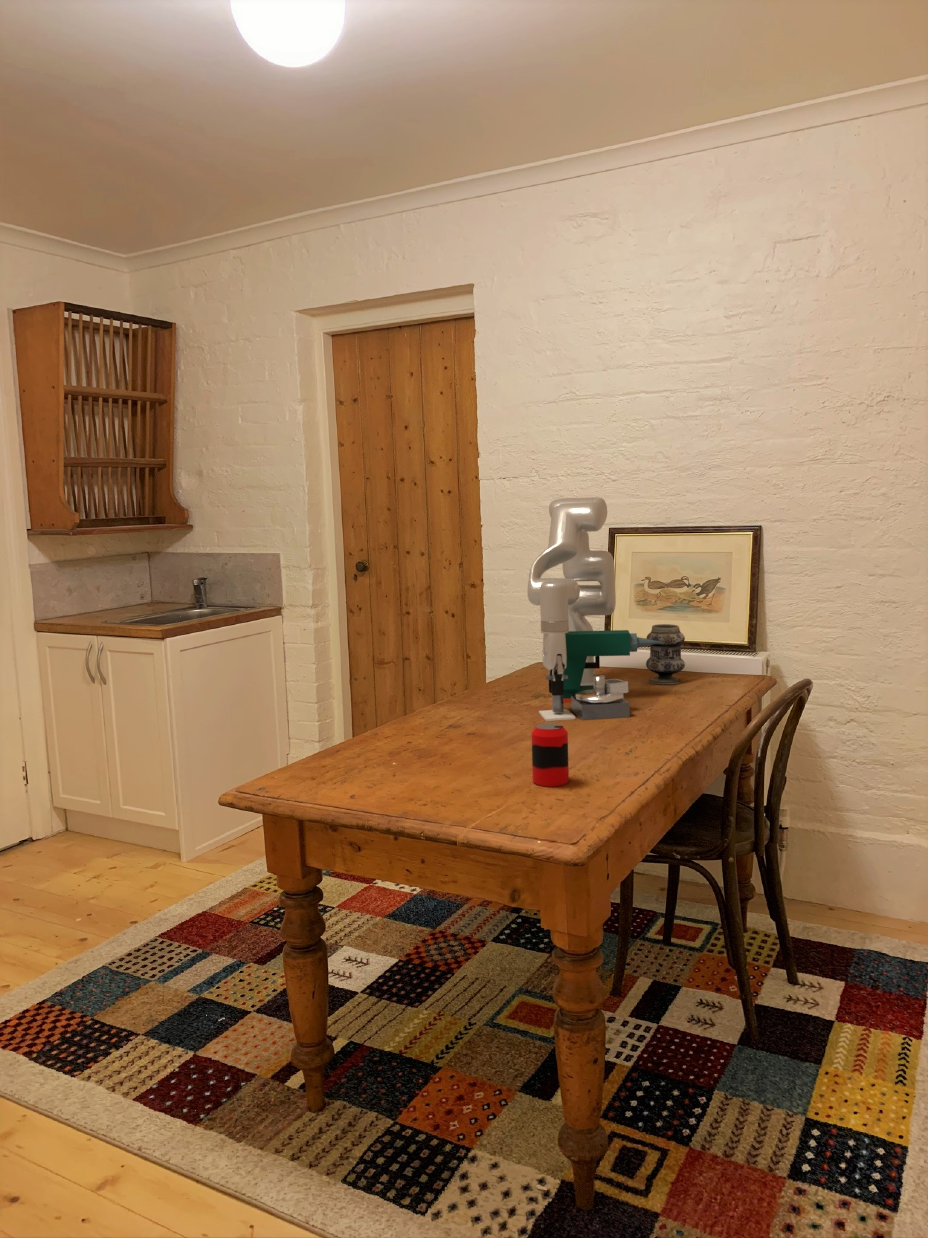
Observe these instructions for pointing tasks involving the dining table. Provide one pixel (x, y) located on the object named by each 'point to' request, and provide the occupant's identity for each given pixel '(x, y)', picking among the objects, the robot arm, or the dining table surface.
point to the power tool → (595, 654)
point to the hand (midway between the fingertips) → (556, 693)
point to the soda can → (550, 755)
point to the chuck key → (557, 697)
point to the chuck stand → (600, 709)
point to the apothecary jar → (665, 653)
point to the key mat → (556, 715)
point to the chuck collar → (604, 690)
